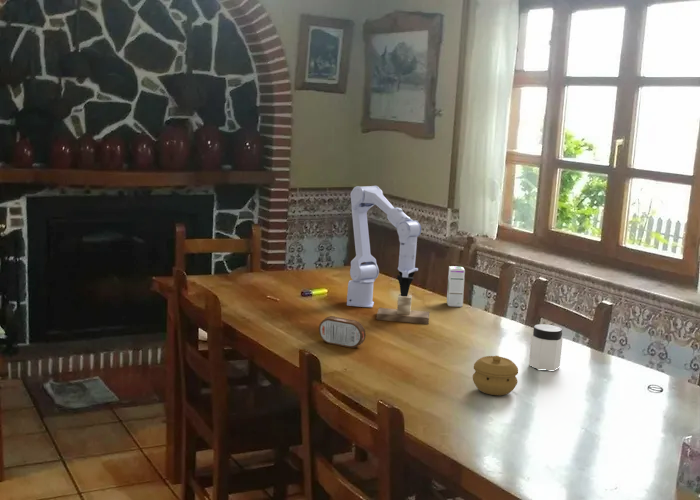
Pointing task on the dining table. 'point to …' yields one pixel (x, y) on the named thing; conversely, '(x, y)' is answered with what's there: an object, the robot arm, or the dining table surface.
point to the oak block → (404, 304)
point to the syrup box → (455, 286)
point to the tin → (342, 332)
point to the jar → (546, 347)
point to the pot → (495, 375)
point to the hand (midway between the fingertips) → (404, 293)
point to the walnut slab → (403, 316)
